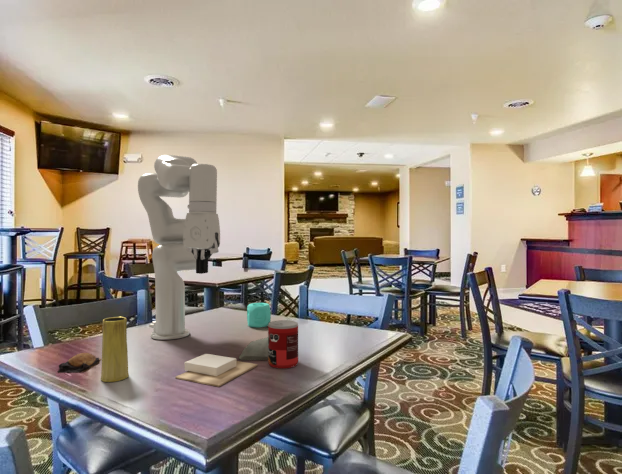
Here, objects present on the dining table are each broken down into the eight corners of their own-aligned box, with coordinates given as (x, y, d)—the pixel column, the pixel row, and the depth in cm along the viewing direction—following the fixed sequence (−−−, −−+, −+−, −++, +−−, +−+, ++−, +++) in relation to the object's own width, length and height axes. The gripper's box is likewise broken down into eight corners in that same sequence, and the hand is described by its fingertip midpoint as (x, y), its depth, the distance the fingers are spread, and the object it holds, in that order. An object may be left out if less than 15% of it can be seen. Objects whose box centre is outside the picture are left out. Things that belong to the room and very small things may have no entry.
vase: (110, 384, 91) (109, 322, 91) (95, 379, 95) (95, 319, 95) (134, 376, 97) (133, 318, 96) (119, 371, 100) (119, 315, 100)
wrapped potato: (73, 362, 110) (73, 349, 110) (104, 361, 110) (104, 347, 110) (51, 375, 99) (51, 361, 99) (86, 374, 100) (86, 359, 100)
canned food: (268, 360, 109) (268, 320, 109) (297, 359, 110) (297, 319, 110) (267, 369, 101) (267, 326, 101) (299, 368, 102) (298, 326, 102)
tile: (184, 362, 99) (216, 367, 95) (205, 353, 106) (236, 358, 102) (184, 370, 99) (216, 376, 95) (205, 361, 106) (236, 366, 102)
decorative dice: (267, 322, 156) (267, 302, 156) (270, 326, 148) (270, 305, 148) (246, 323, 154) (246, 303, 154) (249, 328, 146) (249, 306, 146)
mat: (175, 378, 95) (175, 376, 95) (218, 359, 110) (218, 357, 110) (218, 386, 90) (218, 385, 90) (257, 365, 104) (257, 364, 104)
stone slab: (238, 366, 109) (274, 361, 109) (236, 356, 109) (272, 351, 109) (249, 345, 131) (279, 340, 131) (248, 336, 131) (278, 332, 131)
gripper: (173, 207, 112) (172, 272, 112) (214, 208, 105) (213, 276, 106) (192, 208, 118) (191, 269, 119) (232, 209, 112) (231, 273, 113)
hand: (202, 272), depth 112 cm, fingers closed
